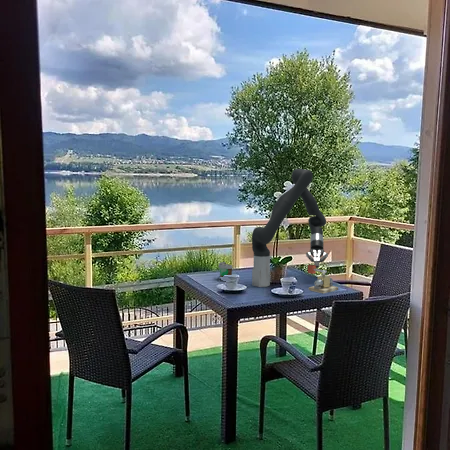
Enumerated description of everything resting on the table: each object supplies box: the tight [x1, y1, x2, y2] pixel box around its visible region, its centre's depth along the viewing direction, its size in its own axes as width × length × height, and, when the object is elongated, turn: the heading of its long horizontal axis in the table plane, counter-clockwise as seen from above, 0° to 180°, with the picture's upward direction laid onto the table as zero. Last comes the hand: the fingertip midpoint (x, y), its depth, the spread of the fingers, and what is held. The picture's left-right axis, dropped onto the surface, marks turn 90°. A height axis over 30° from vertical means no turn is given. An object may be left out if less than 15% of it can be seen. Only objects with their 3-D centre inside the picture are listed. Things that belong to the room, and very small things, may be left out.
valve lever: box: [307, 264, 328, 276], centre depth 263 cm, size 12×3×5 cm, turn 40°
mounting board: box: [308, 285, 339, 294], centre depth 261 cm, size 13×10×2 cm
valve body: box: [313, 275, 334, 289], centre depth 260 cm, size 12×4×6 cm, turn 130°
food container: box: [217, 261, 233, 278], centre depth 284 cm, size 12×6×10 cm, turn 21°
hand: (316, 267), depth 270 cm, fingers closed
